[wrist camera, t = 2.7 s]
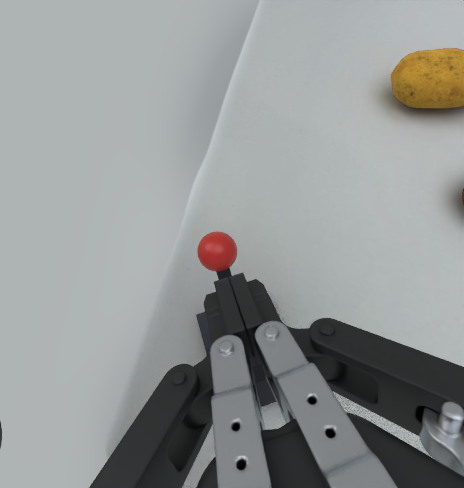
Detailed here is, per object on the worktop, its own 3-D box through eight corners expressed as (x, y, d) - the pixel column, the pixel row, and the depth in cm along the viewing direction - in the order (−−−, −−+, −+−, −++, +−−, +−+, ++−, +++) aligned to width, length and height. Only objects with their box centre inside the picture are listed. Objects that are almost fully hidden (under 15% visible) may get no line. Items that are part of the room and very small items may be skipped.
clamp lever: (192, 234, 26) (193, 243, 23) (228, 223, 26) (234, 231, 23) (234, 369, 30) (240, 392, 27) (266, 358, 30) (275, 381, 27)
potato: (377, 75, 48) (402, 33, 41) (473, 80, 47) (514, 39, 40) (380, 116, 46) (405, 79, 39) (479, 121, 46) (522, 85, 39)
